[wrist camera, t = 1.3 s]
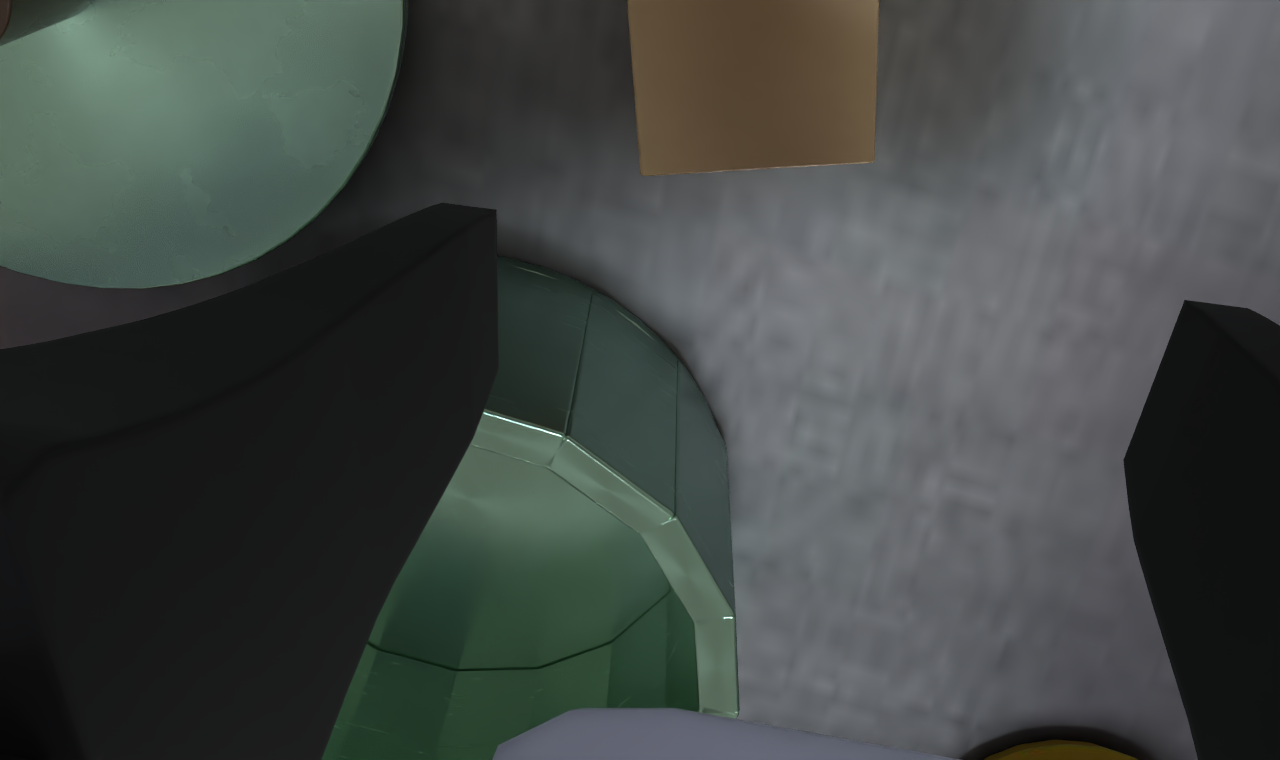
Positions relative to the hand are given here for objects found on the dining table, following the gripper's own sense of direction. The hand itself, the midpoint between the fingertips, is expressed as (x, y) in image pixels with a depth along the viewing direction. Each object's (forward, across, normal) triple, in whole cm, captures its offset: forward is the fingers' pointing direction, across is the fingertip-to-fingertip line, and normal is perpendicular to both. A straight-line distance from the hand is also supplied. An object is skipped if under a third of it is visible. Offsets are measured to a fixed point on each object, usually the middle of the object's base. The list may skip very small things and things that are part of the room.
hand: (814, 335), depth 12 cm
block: (+12, +2, 0) cm, 12 cm away
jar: (+10, +7, +12) cm, 17 cm away
